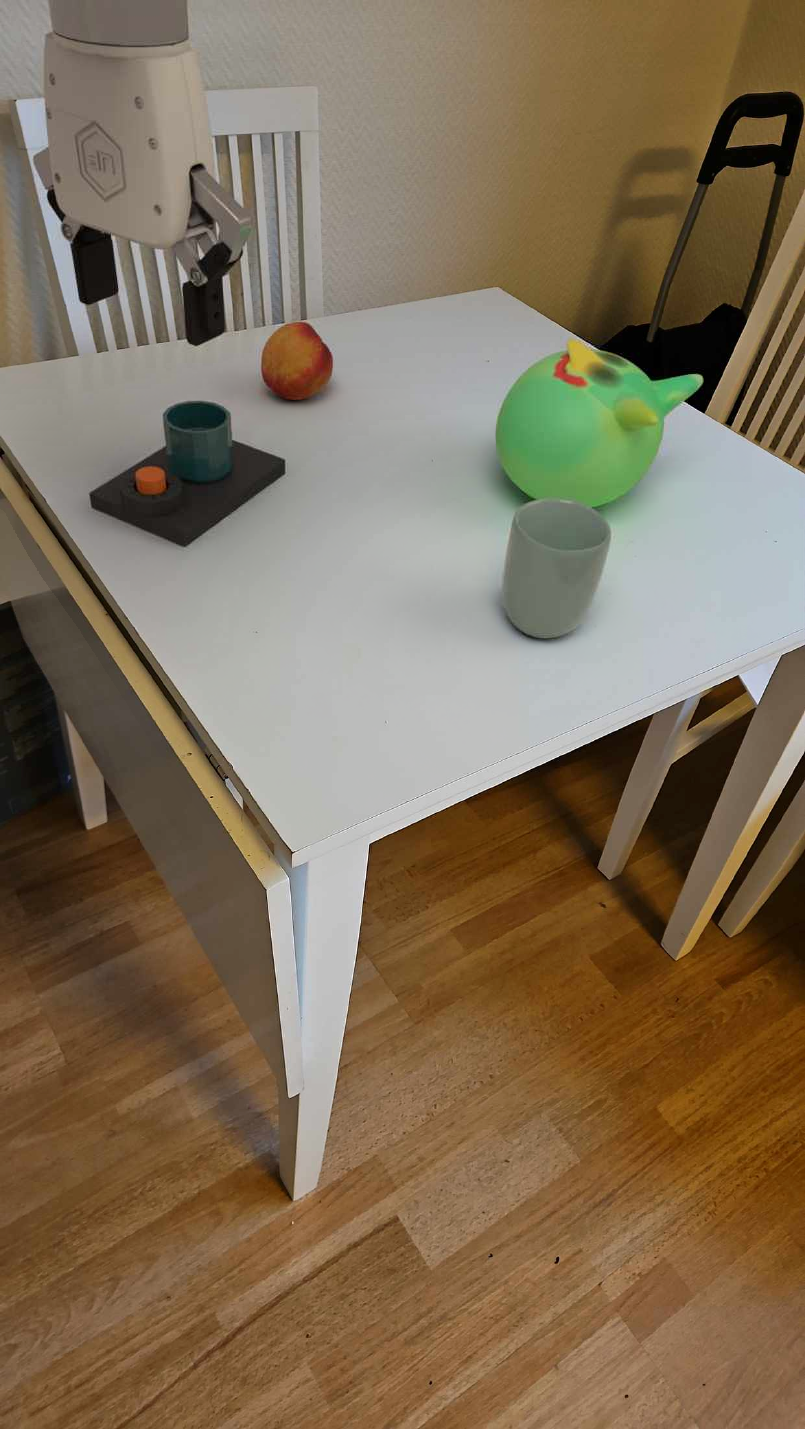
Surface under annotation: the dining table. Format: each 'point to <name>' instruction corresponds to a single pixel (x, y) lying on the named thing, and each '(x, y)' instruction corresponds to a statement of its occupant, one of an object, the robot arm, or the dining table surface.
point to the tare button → (150, 480)
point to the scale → (187, 495)
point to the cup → (553, 565)
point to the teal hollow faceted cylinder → (198, 441)
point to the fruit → (296, 361)
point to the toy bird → (584, 424)
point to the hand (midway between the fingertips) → (151, 318)
